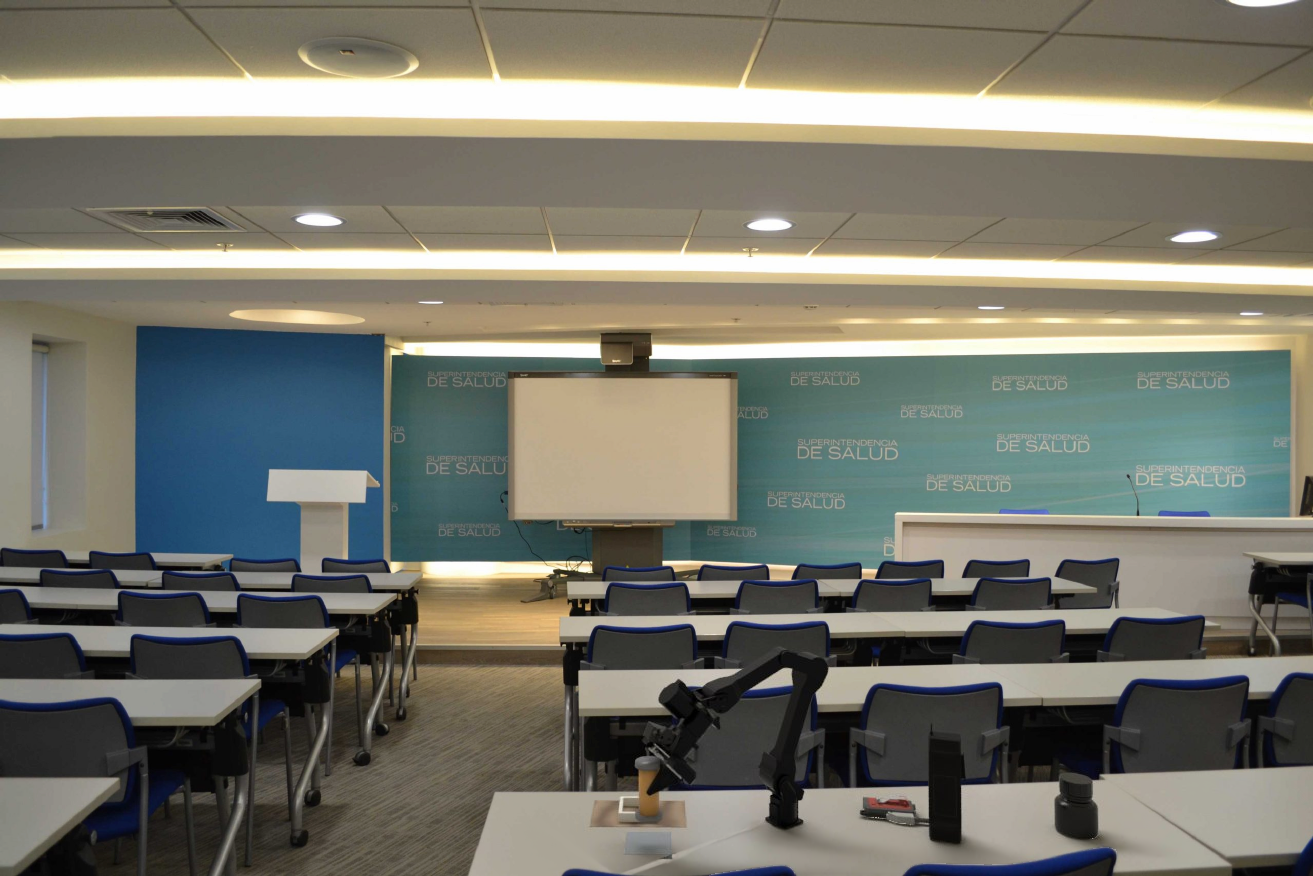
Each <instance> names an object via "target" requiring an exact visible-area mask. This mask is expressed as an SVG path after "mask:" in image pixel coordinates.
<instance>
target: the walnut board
mask: <svg viewBox="0 0 1313 876" xmlns="http://www.w3.org/2000/svg"><path fill="white" fill-rule="evenodd" d="M619 803H620V800H610V799H609V800H599V799H598V800H594V801H593V805H592V806H593V807H592V813H591V817H590V822H589V823H590V824H589V828H687V816H686V814H687V813H686V804H685V803H686V802H685V800H659V808H660V809H661V810H662V811H663V818H662V819H661V820H660V821H658V822H655V823H643V822H618V812H619ZM638 808H639V806H623V812H635V811H636V810H637V809H638Z"/></svg>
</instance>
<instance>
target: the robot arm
mask: <svg viewBox="0 0 1313 876" xmlns="http://www.w3.org/2000/svg"><path fill="white" fill-rule="evenodd" d="M784 668H787V669H791V681H792V690H791V693H790V697H789V700H788V703H787V707H786V710H785V713H784V715H783V719H782V723H781V725H780V729H779V731H778V735H777V739H776V743H775V745H774V747H773V748H772V749H771V750H770V751H769V752H767V751H763V752H762V756H761V761H760V763H759V765H758V766H757V769H759V771H758V776H759V778H760V781H761V782H762V783H763V784H764V785H765V788H766V790H767V791H769V792H771V794H770V795H769V803H768V815H767V816H766V817H764V818H765V820H764V821H766V822H768V823H770V824H772V825H774V826H776V827H778V828H780V829H782V830H788V829H791V828H793V827H796V826H798V825H800V824H804V819H802V818H800V817H799V801H803V799H804V795H805V790H804V789H803V788H802V787H801V786H800V785H799V784H798V783H797V782H796V776H797V763H796V752H797V750H798V746H799V742H800V740H801V736H802V733H803V729H804V726H805V723H806V720H807V717H808V714H809V710H810V707H811V706H810V705H811V703H812V699H813V697H814V695H815V694H816V693H817V692H818V691H819V690H820V689H821V688H822V687H823V685H824V683H825V680H826V679H827V676H828V674H829V665H828V662H827V661H826V660H825V659H824V658H823V657H820V656H818V655H816V654H813V653H811V652H809V651H801V652H799V653H797V652H796V651H791V650H788V649H786V648H784V647H782V646H775V647H773V648H772V649H770V651H769V652H767V653H765V654H764V655H763V656H760V657H759V658H758V659H756V660H754V661H752V662H751V663H750V664H748V665H746V666H745V667H744V668H743V667H742V668H741V669H740V670H738V671H737V672H735V673H733V674H730V675H728V676H723V677H718V678H716V679H714V680H711V681H708V682H706V683H705V684H704V685H703V686H702V687H699V688H694V689H689V687H688V686H687V684H686V683H685V682H684V681H683V680H681V678H677V679H676V680H675V682H672V683H670V684H667V686H664V688H663V689H662V690H661V692H660V693H659V695H658V703H659V704H660V705H661V706H662V707H663V708H664V709H665V710H666V711H668V713H669V714H670V715H671V716H673V718H675V719H676V720H680V722H679V723H678V724H677V725H675V724H671V725H670V726H669V727H666V725H665V726H664V725H660V724H657V723H655V722H652V721H647V724H646V726H645V729H644V731H643V734H642V736H643V738H642V739H641V742H643V743H644V744H645V745H646V747H645V748H644V749H645V753H646V756H655V757H659V758H661V759H662V760H663V762H662V761H660V769H659V772H658V774H657V776H656V777H655V779H654V780H653V782H652V783H651V785H650V786H649V788H648V790H647V791H646V793H647V794H648V795H649V796H651V795H653V794H655V793H657V792H659V793H660V792H662V791H663V790H665V789H666V788H669V787H671V786H674V785H677V784H679V783H681V784H682V783H683V782H684V781H685V782H686V783H687V784H688V785H690V786H692V785H693V783H695V781H696V780H697V772H696V770H695V769H693V767H691V765H689V764H688V761H687V760H685V759H686V758H687V757H688V756H689V754H690V753H691V752H692V751H693V750H694V751H698V749H699V748H700V746H699V745H698V744H699V742H700V740H701V739H702V738H703V737H704V735H705V734H706V733H707V731H708V730H709V729H710V728H711V727H714V728H715V729H717V730H721V723H720V721H721V717H720V716H719V715H718V714H721V715H724V714H726V713H728V712H729V711H730V710H732V709H733V708H734V707H735V706H736V705H737V704H738V703H739V702H740V700H741V699H742V697H743V695H745V694H746V692H748V691H750V690H752V689H753V688H754V687H756V686H757V685H759V684H760V683H762V682H764V681H765V680H767V679H769V678H770V677H772V676H774V675H775V674H777V673H778V672H780V671H781V670H783V669H784ZM697 704H699V705H700V706H702V707H699V706H698V705H697ZM710 710H712V711H713V712H714V714H712V713H711V712H710ZM716 713H717V714H716ZM681 719H682V720H681ZM664 761H666V764H665V763H664ZM682 779H683V780H684V781H683V780H682ZM636 783H637V785H638V786H639V779H638V781H637V782H636Z"/></svg>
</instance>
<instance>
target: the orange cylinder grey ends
mask: <svg viewBox="0 0 1313 876" xmlns="http://www.w3.org/2000/svg"><path fill="white" fill-rule="evenodd" d="M660 761H662V762H663V763H664V761H663V760H662V759H661V758H659V757H655V756H647V755H645V756H640V757H637V758H636V759H635V761H634V762H635V763H634V767H635V768H636V769H637V770H638V780H639V785H638V796H639V808H638V809H637V810H636V811H635V818H636V820H638V821H639V822H643V823H655V822H658V821H660V820H661V819H662V818H663V811H662V810H661V809H660V808H659V801H660V791H659V792H657V793H655V794H653V795H651V796H649V795H648V794H647V793H646V791H647V790H648V788H649V786H650V785H651V783H652V782H653V780H654V779H655V777H656V776H657V774H658V772H659V769H660Z"/></svg>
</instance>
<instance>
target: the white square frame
mask: <svg viewBox="0 0 1313 876" xmlns="http://www.w3.org/2000/svg"><path fill="white" fill-rule="evenodd" d="M619 801H620V803H619V812H618V822H639V821H638V820H636V818H635V812H623V806H639V795H638V796H636V795H635V796H634V795H633V796H630V795H629V796H628V795H627V796H626V795H625V796H624V795H623V796H621V795H620V797H619Z"/></svg>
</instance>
